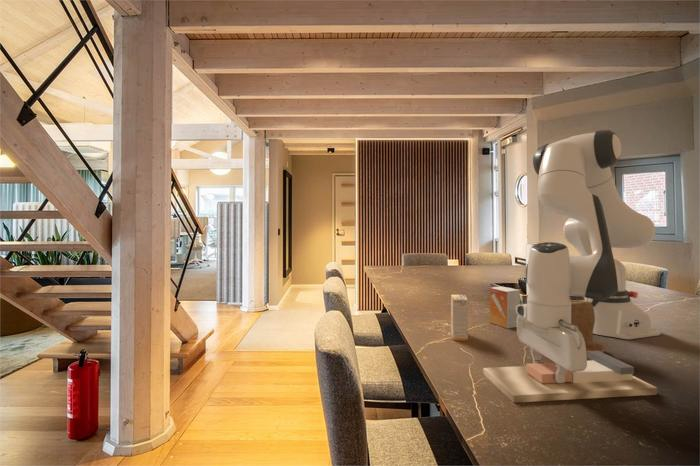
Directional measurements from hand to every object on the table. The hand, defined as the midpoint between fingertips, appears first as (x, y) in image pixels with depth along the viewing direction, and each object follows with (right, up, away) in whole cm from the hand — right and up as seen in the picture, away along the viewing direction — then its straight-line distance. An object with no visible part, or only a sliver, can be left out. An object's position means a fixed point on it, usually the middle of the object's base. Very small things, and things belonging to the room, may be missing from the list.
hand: (548, 374), depth 83 cm
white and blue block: (+11, -1, +1) cm, 11 cm away
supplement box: (-10, -2, +34) cm, 36 cm away
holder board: (+4, -2, 0) cm, 4 cm away
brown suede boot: (+18, -2, +19) cm, 26 cm away
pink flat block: (0, -1, 0) cm, 0 cm away
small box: (+10, -1, +47) cm, 48 cm away
